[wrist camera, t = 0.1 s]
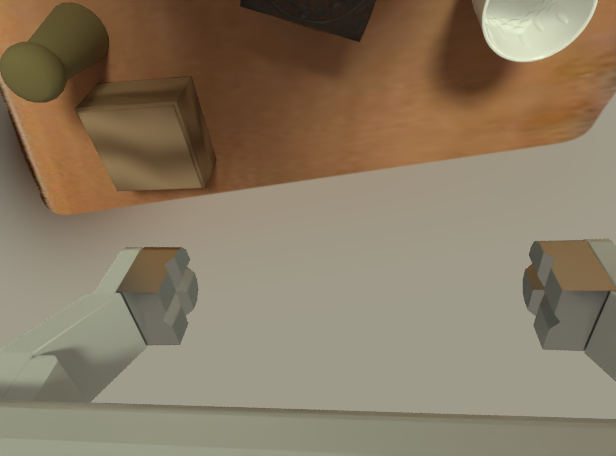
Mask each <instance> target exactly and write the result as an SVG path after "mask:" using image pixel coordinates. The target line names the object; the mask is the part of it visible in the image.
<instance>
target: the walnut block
mask: <svg viewBox="0 0 616 456" xmlns="http://www.w3.org/2000/svg"><path fill="white" fill-rule="evenodd" d="M75 109H76V111H77V113H78V115H79V117H80V119H81V121H82V123H83V125H84V127H85V129H86V130H87V132H88V134H89V136H90V138H91V140H92V142H93V144H94V146H95V148H96V150H97V152H98V154H99V156H100V158H101V160H102V162H103V164H104V166H105V168H106V170H107V172H108V174H109V176H110V178H111V180H112V182H113V183H114V185H115V187H116V189H117V191H137V190H162V189H187V188H206V185H207V183H208V180H209V177H210V175H211V172H212V170H213V167H214V164H215V162H216V157H215V154H214V150H213V147H212V144H211V141H210V137H209V134H208V131H207V127H206V124H205V121H204V117H203V114H202V111H201V107H200V104H199V101H198V97H197V94H196V91H195V88H194V84H193V81H192V78H191V77H178V78H164V79H151V80H137V81H124V82H110V83H98V84H97V85H96V86H95V87H94V88H93V89H92V90H91V91H90V93H89V94H88V95H87V96H86V97H85V98H84V99H83V100H82V102H81V103H80V104H79V105H78V106H77V107H76V108H75Z"/></svg>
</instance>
